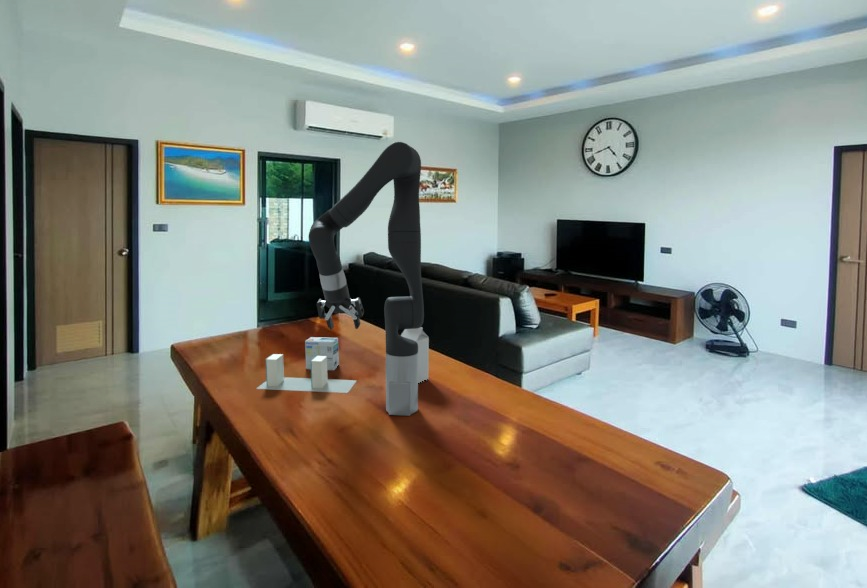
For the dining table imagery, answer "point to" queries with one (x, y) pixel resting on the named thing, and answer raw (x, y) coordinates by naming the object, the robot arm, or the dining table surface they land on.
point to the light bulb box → (322, 351)
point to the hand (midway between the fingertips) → (344, 327)
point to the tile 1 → (274, 370)
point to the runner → (305, 385)
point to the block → (319, 372)
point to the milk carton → (420, 350)
